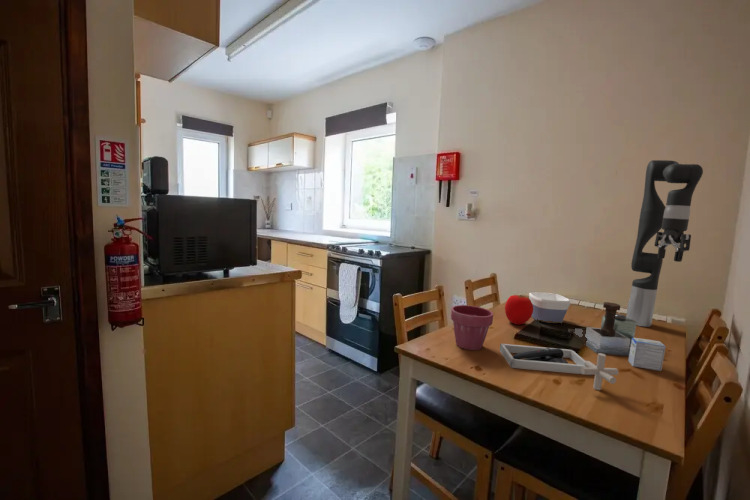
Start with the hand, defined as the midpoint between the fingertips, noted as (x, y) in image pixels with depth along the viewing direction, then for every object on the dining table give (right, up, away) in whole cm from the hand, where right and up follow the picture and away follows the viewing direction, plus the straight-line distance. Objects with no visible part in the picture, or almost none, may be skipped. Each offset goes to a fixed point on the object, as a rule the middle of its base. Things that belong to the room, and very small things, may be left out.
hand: (668, 259), depth 134 cm
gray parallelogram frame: (-59, -33, -21) cm, 71 cm away
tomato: (-52, -28, +17) cm, 62 cm away
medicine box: (-25, -35, -20) cm, 47 cm away
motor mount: (-23, -32, -1) cm, 40 cm away
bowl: (-35, -28, +25) cm, 52 cm away
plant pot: (-80, -30, -11) cm, 86 cm away
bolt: (-28, -31, -5) cm, 42 cm away
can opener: (-62, -33, -24) cm, 74 cm away
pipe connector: (-51, -35, -37) cm, 72 cm away
